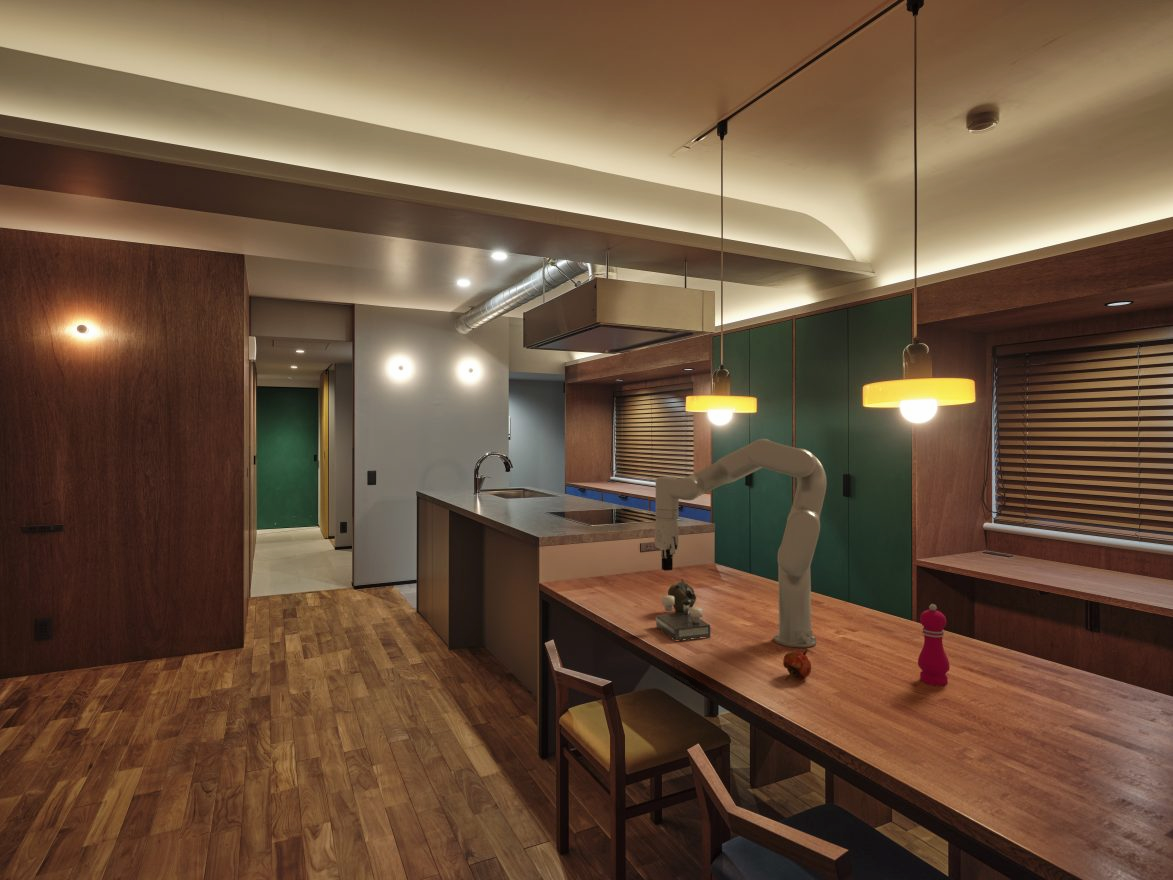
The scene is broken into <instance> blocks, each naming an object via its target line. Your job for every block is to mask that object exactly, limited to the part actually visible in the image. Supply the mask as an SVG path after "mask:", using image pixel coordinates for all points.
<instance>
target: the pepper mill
mask: <svg viewBox="0 0 1173 880" xmlns="http://www.w3.org/2000/svg"><path fill="white" fill-rule="evenodd" d="M937 609H938V607H937V604H934V603H931V604H930V605H929V606H928V609H927V610H924V611H923V612H921V613H920V617H919V622H920V624H921V625H922V629H921V630H922V631H921V632H922V635H923V637H924V638H923V639H924V640H923V641H924V643H923V646H922V649H921V651H920V653H919V656H918V659H917V665H918V667H919V669H920V670H921V671H920V672H919V673H920V674H919V679H920V681H921V680H922V681H921V682H923V683H924V682H925V684H927V683H928V684H927V685H930V684H932V685H931V686H936V685H942V686H947V684H948V675H947V673H948V672H949V671H950V667H951V666H950V662H949V658H948V656H947V653H946V651H945V648H944V645H943V637H944V636H945V630H944V628H945V627H946V625H947V619H946V616H945V615H944V613H942V612H941V611H939V610H937Z"/></svg>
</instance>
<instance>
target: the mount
mask: <svg viewBox="0 0 1173 880" xmlns="http://www.w3.org/2000/svg"><path fill="white" fill-rule="evenodd" d="M655 623H656V626H657V627H658V628H659V629H658V628H657V627H656V626H655V627H656V628H657V629H658V630H660V631H661V630H662V631H663V632H662V631H661V632H662V633H664V635H666V634H667V635H666V636H668V637H669V636H670V637H671V638H670V637H669V638H670V639H672V638H673V639H674V640H683V639H691V638H700V637H710V638H711V625H710V624H709V623H708V622H706V621H704V620H703V619H701V618H700V623H692V617H690V614H684V613H675V612H674V613H665V614H656V616H655ZM673 639H672V640H673ZM674 640H673V641H674Z"/></svg>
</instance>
